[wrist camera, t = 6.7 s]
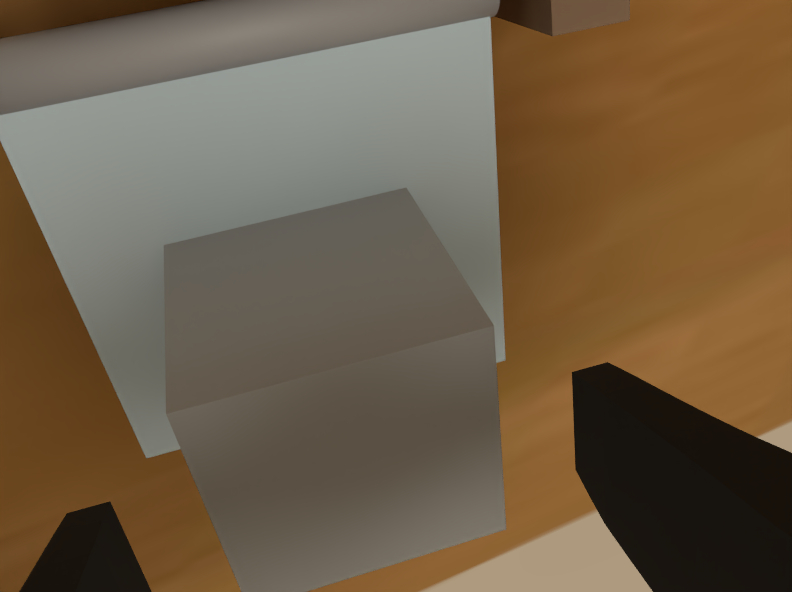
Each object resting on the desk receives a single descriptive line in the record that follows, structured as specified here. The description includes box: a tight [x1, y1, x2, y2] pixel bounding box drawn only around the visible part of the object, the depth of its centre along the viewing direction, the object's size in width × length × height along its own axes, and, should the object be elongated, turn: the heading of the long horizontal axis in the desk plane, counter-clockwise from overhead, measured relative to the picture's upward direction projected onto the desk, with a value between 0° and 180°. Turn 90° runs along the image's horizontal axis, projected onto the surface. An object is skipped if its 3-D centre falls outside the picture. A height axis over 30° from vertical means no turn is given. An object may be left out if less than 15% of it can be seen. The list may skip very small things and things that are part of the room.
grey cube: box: [164, 188, 506, 592], centre depth 14 cm, size 5×5×5 cm
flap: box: [0, 0, 505, 458], centre depth 14 cm, size 14×9×3 cm, turn 8°
